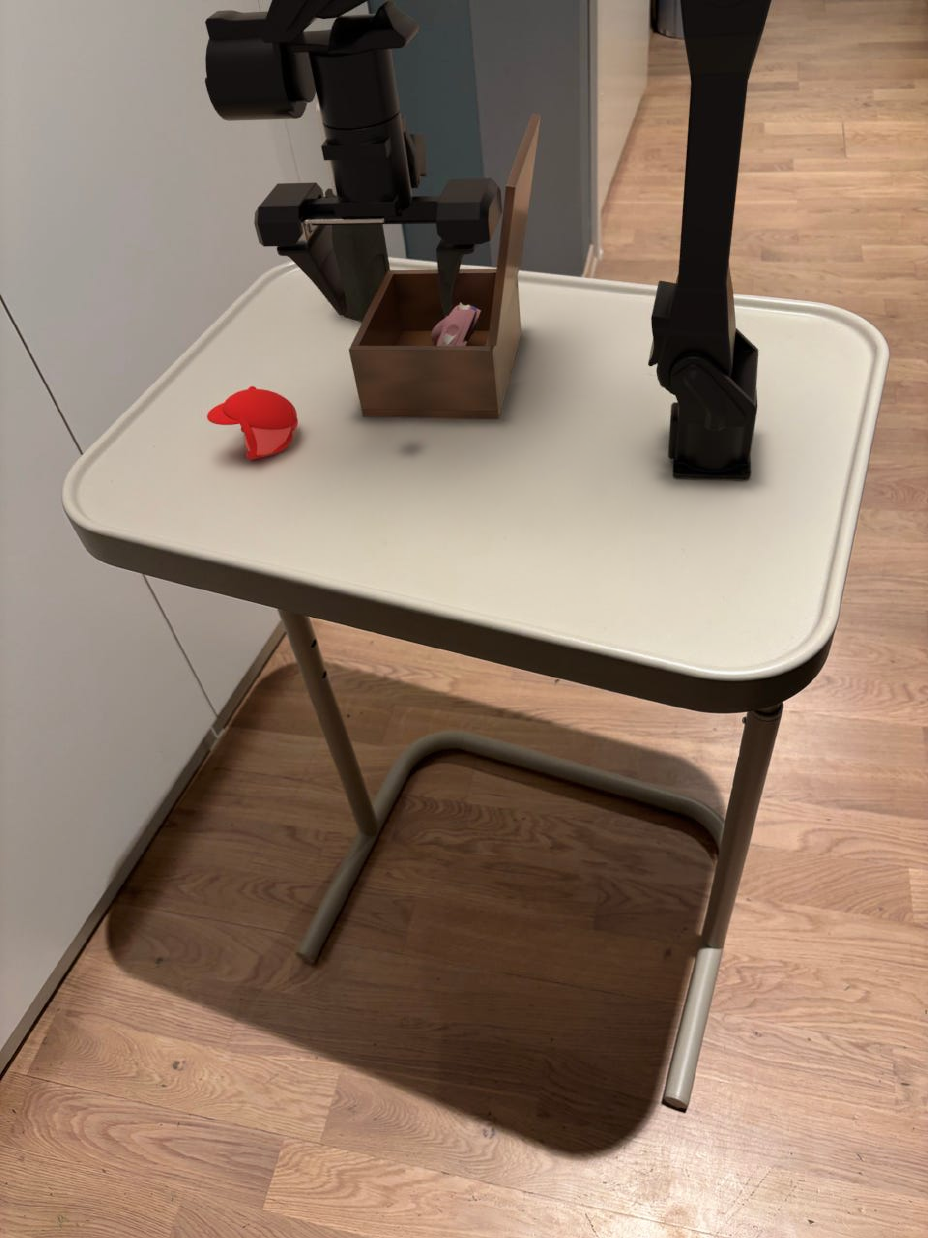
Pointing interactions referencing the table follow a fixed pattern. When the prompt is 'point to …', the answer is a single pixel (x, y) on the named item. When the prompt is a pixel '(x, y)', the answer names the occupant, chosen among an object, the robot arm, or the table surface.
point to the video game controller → (456, 326)
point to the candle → (357, 255)
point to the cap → (258, 419)
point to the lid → (513, 227)
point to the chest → (432, 349)
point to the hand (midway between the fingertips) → (395, 313)
